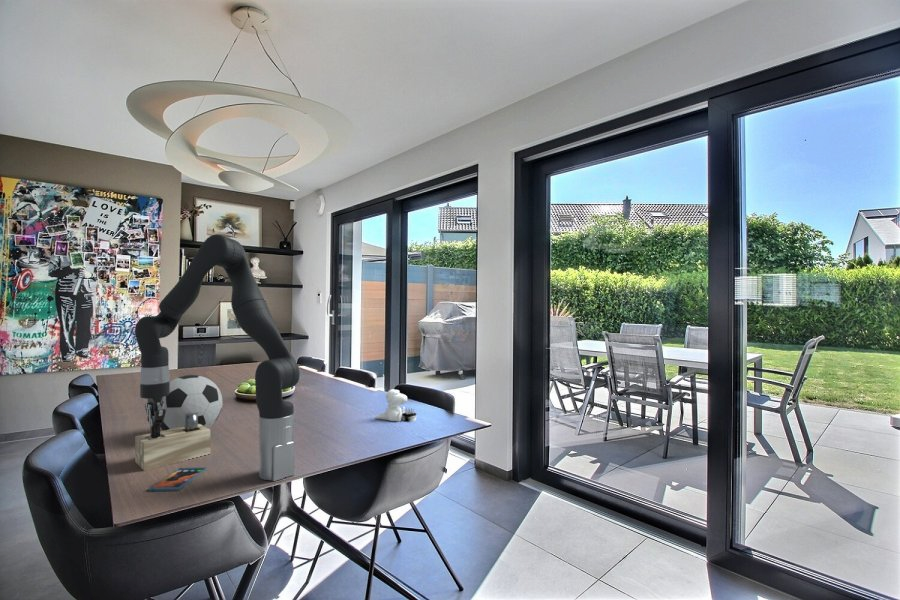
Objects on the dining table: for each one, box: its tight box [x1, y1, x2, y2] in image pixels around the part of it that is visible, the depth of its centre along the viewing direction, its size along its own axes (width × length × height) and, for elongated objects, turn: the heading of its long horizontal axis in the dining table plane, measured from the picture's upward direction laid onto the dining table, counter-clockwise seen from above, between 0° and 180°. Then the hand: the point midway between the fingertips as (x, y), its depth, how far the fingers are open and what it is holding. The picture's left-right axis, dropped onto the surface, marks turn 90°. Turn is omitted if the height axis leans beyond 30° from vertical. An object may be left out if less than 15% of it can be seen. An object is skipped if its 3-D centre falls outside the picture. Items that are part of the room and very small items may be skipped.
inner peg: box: [185, 413, 198, 432], centre depth 141 cm, size 4×4×7 cm
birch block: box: [134, 424, 211, 472], centre depth 137 cm, size 10×18×8 cm, turn 138°
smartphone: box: [147, 467, 208, 492], centre depth 122 cm, size 8×1×15 cm
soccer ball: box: [160, 374, 223, 431], centre depth 160 cm, size 22×22×22 cm
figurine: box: [374, 389, 418, 423], centre depth 181 cm, size 8×18×12 cm, turn 81°
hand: (155, 436), depth 134 cm, fingers closed
